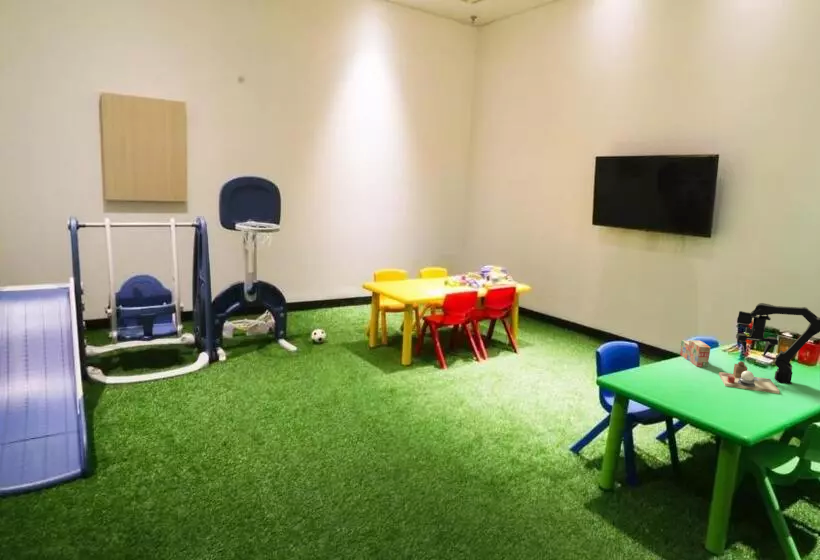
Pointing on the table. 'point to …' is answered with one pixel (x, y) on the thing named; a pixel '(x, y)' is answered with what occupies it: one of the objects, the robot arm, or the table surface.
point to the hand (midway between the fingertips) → (754, 354)
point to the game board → (758, 385)
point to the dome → (747, 377)
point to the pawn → (739, 369)
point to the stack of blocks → (695, 352)
